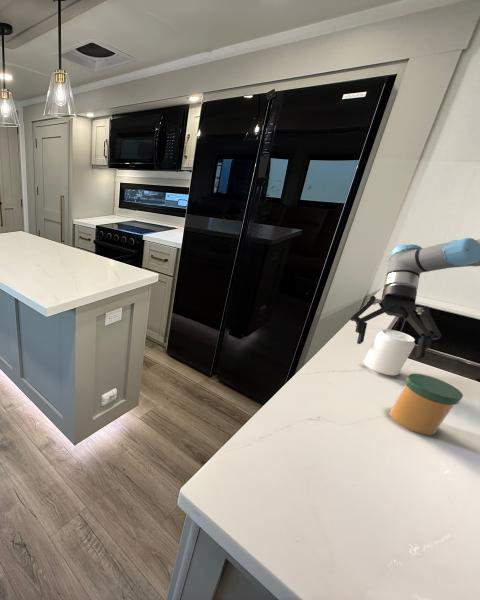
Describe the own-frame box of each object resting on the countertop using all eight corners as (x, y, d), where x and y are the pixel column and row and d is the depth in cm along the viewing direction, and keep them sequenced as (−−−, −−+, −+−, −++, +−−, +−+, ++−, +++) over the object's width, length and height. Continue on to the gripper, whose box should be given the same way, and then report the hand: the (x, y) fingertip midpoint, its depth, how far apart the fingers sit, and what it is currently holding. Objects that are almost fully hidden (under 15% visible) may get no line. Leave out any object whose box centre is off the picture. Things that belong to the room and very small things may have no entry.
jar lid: (450, 389, 72) (454, 383, 72) (466, 411, 66) (470, 404, 65) (400, 375, 77) (403, 369, 76) (410, 394, 70) (414, 387, 69)
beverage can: (394, 380, 90) (414, 345, 85) (359, 366, 96) (376, 332, 91) (400, 371, 94) (419, 337, 90) (367, 358, 100) (383, 325, 95)
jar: (429, 419, 76) (451, 384, 72) (440, 440, 70) (466, 404, 66) (386, 405, 80) (405, 372, 76) (393, 424, 74) (414, 389, 69)
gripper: (447, 304, 95) (439, 368, 90) (346, 285, 108) (333, 340, 102) (464, 294, 89) (456, 361, 83) (354, 275, 101) (341, 332, 96)
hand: (388, 350), depth 93 cm, fingers open, 13 cm apart
